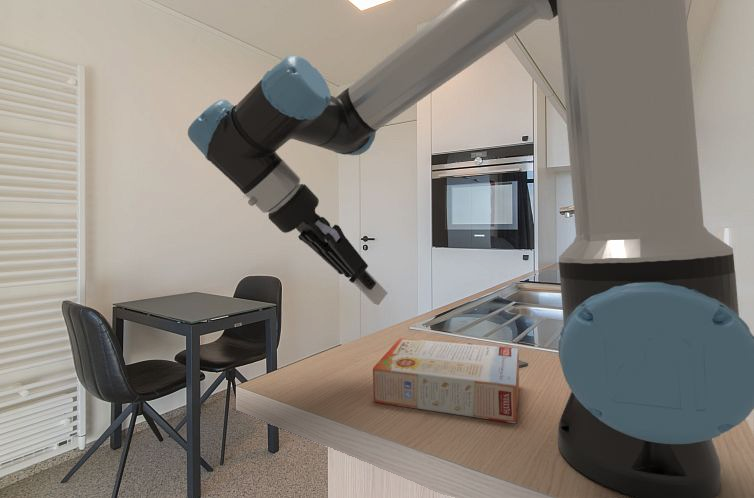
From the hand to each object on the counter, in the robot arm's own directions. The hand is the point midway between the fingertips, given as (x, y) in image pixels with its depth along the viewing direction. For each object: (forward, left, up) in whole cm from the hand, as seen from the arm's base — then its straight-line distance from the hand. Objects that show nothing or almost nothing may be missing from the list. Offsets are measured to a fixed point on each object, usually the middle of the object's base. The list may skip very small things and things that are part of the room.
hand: (380, 298), depth 68 cm
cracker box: (-2, 0, -11) cm, 12 cm away
